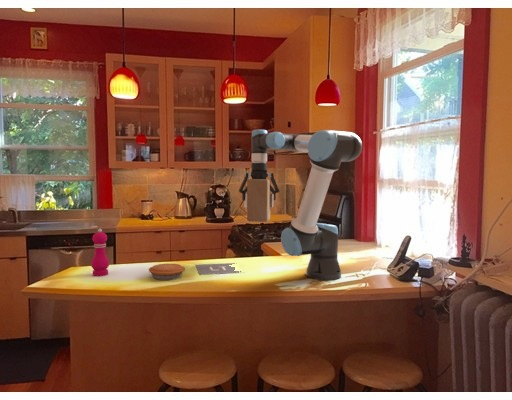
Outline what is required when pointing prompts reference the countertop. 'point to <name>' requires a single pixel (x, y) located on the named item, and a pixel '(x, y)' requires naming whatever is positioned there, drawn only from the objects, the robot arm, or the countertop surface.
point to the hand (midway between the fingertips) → (258, 207)
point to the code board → (215, 268)
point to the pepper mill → (100, 254)
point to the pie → (167, 271)
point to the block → (258, 200)
